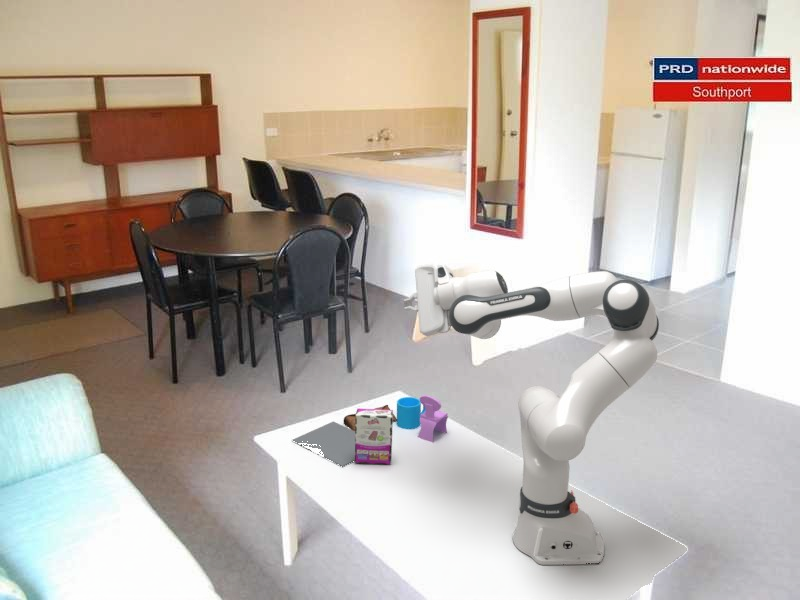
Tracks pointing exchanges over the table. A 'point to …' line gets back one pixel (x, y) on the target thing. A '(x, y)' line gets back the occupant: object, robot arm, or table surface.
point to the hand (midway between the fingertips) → (404, 305)
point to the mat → (332, 442)
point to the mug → (409, 412)
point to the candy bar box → (373, 436)
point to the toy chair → (431, 418)
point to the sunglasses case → (350, 419)
